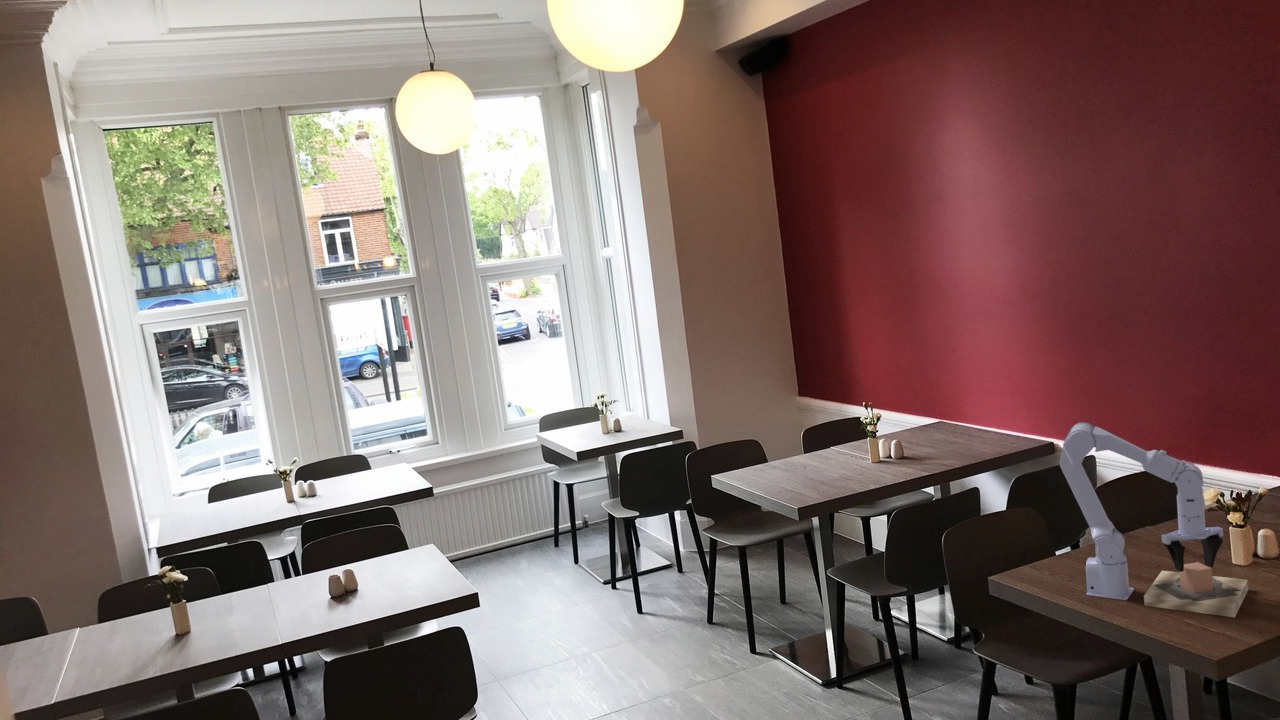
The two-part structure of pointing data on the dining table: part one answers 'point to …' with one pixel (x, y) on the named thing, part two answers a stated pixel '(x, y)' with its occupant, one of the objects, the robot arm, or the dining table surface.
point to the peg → (1196, 578)
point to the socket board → (1197, 595)
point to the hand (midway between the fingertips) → (1194, 568)
